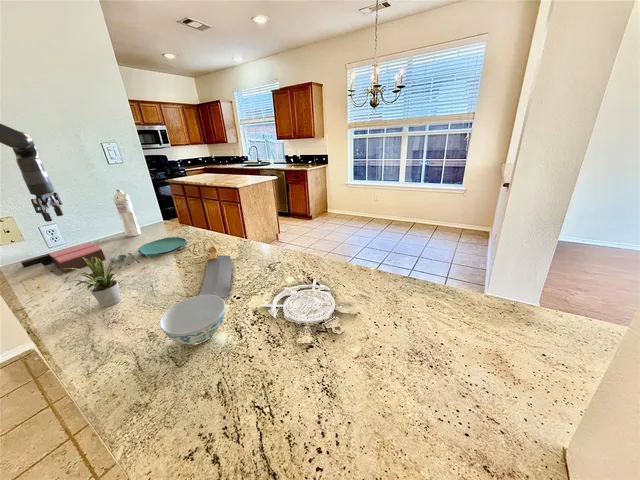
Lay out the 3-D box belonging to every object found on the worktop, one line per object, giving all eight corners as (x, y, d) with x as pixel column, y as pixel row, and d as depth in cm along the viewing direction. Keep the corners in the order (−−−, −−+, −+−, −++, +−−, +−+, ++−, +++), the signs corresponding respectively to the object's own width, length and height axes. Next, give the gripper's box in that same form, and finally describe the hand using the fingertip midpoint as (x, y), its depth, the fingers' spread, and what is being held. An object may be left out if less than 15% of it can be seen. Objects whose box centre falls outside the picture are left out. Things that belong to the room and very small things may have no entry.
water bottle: (123, 236, 142) (106, 190, 132) (135, 232, 148) (119, 187, 138) (133, 237, 140) (116, 191, 130) (144, 232, 146) (129, 188, 136)
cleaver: (233, 248, 119) (231, 300, 84) (209, 252, 117) (197, 307, 82) (231, 242, 118) (230, 291, 83) (207, 245, 115) (195, 298, 80)
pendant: (309, 277, 94) (309, 273, 93) (370, 314, 74) (370, 310, 73) (254, 302, 82) (254, 298, 81) (309, 355, 61) (309, 350, 61)
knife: (26, 271, 109) (21, 263, 107) (25, 270, 110) (20, 261, 108) (91, 251, 125) (87, 243, 124) (89, 250, 127) (86, 242, 125)
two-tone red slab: (65, 273, 105) (59, 261, 103) (54, 265, 113) (49, 254, 111) (106, 259, 116) (101, 248, 114) (94, 253, 123) (89, 242, 121)
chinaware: (170, 327, 73) (163, 304, 70) (227, 311, 78) (222, 289, 75) (165, 368, 60) (156, 342, 57) (233, 345, 65) (227, 320, 62)
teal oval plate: (194, 247, 124) (193, 242, 123) (119, 272, 104) (117, 267, 103) (177, 237, 136) (176, 233, 135) (107, 259, 116) (105, 254, 115)
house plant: (69, 310, 82) (45, 264, 76) (116, 286, 94) (98, 245, 88) (95, 320, 77) (72, 272, 70) (141, 294, 88) (125, 251, 82)
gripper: (38, 180, 116) (54, 215, 123) (14, 185, 104) (33, 224, 110) (58, 178, 118) (73, 213, 125) (38, 183, 106) (55, 222, 112)
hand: (54, 218), depth 117 cm, fingers open, 8 cm apart
